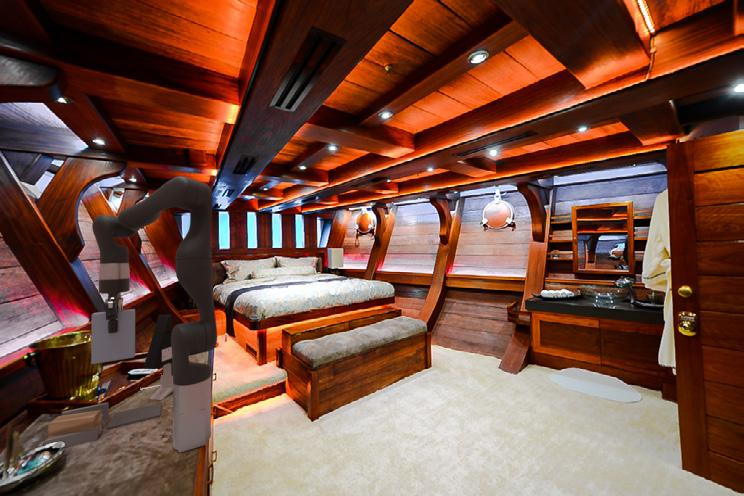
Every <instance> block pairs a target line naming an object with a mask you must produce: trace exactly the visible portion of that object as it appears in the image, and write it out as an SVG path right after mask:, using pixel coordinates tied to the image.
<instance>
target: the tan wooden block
mask: <svg viewBox="0 0 744 496" xmlns="http://www.w3.org/2000/svg"><path fill="white" fill-rule="evenodd" d="M98 410H102V422H101V430H103V429H104V421H106V420H108V419H109V401H108V402H103V403H98V404H94V405H90V406H85V407H79V408H75V409H70V410H64V411H62V412H61V416H64V415H71V414H78V413H84V412H91V411H98ZM98 439H99V435H98V427H96V428H95V429H92V430H86V431H80V432H75V433H71V434H66V435H62V436H58V437H54V438H50V439H48V438H46V439H45V440H44V446H45V445H46V444H49V443H53V442H58V441H62V442H64V443H65V448H67V447H71V446H72V447H73V446H76V445H79V444H85V443H87V442H91V441H95V440H98Z"/></svg>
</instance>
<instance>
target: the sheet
mask: <svg viewBox="0 0 744 496" xmlns="http://www.w3.org/2000/svg"><path fill="white" fill-rule="evenodd" d="M110 316H114V313H111V314H110ZM118 318H119V319H118V331H117V332H116V333H108V321H107V320H106V311H100V312H94V313H92V314H91V346H90V347H91V358H90V359H91V362H90V363H91V365H95V364H102V363H107V362H113V361H119V360H126V359H132V358H135V356H136V309H134V308H130V309H124V310H121V312H120V313H118Z"/></svg>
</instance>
